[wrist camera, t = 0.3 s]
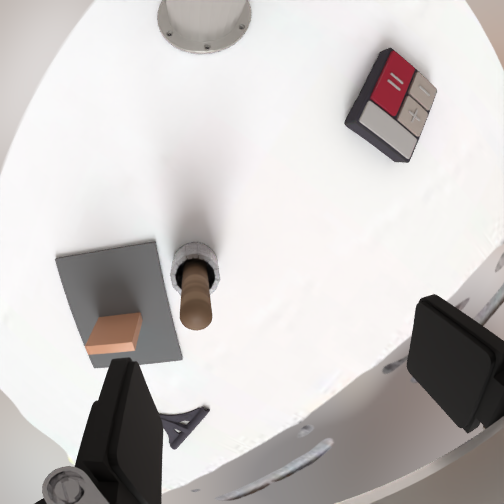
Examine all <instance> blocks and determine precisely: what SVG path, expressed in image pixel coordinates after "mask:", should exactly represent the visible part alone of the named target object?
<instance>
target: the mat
mask: <svg viewBox="0 0 504 504" xmlns="http://www.w3.org/2000/svg"><path fill="white" fill-rule="evenodd" d="M55 261H56V265H57V268H58V272H59V275H60V278H61V282H62V285H63V288H64V291H65V294H66V297H67V300H68V303H69V306H70V309H71V312H72V314H73V317H74V320H75V323H76V325H77V328H78V331H79V333H80V336H81V338H82V341H83V343H84V346H85V345H86V343H87V341H88V339H89V336H90V334H91V332H92V330H93V328H94V326H95V324H96V322H97V320H98V318H99V317H105V316H114V315H122V314H130V313H138V312H140V313H141V316H142V320H143V321H142V325H141V329H140V333H139V337H138V341H137V345H136V349H135V351H128V352H117V353H105V354H92V355H89V358H90V360H91V362H92V364H93V367H94V368H105V367H109V366H110V363H111V360H112V359H116V358H126V357H130V358H131V359H132V361H137V362H138V364H139V365H142V364H152V363H161V362H170V361H178V360H182V355H181V351H180V347H179V343H178V340H177V336H176V332H175V328H174V324H173V320H172V316H171V312H170V308H169V303H168V299H167V295H166V290H165V286H164V281H163V277H162V272H161V267H160V263H159V258H158V253H157V248H156V242H151V243H144V244H138V245H132V246H126V247H119V248H113V249H107V250H101V251H95V252H90V253H84V254H78V255H72V256H66V257H61V258H56V259H55Z"/></svg>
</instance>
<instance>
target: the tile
mask: <svg viewBox="0 0 504 504" xmlns="http://www.w3.org/2000/svg"><path fill="white" fill-rule="evenodd" d="M142 321H143V320H142V316H141V313H140V312H138V313H130V314H122V315H114V316H105V317H99V318H98V320H97V322H96V324H95V326H94V328H93V330H92V332H91V334H90V336H89V339H88V341H87V343H86V345H85V348H86V350H87V353H88V355H92V354H105V353H117V352H128V351H135V349H136V345H137V341H138V337H139V333H140V329H141V325H142Z"/></svg>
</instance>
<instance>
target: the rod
mask: <svg viewBox="0 0 504 504" xmlns="http://www.w3.org/2000/svg"><path fill="white" fill-rule="evenodd" d="M180 320H181V322H182V324H183V325H184V326H185V327H186V328H188V329H191V330H202V329H204V328H206V327H207V326H208V325H209V324H210V323H211V321H212V309H211V301H210V292H209V283H208V274H207V264H206V261H204V260H202V259H199V258H193V259H187V260H185V262H184V267H183V278H182V291H181V305H180Z"/></svg>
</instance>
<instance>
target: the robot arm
mask: <svg viewBox="0 0 504 504" xmlns="http://www.w3.org/2000/svg"><path fill="white" fill-rule="evenodd" d="M157 20H158V26H159V29H160V32H161V33H162V35H163V37H164V38H165V39H166V40H167V41H168V42H169V43H170V44H171V45H173V46H174V47H175V48H178V49H180V50H182V51H185V52H189V53H194V54H210V53H215V52H219V51H222V50H224V49H227V48H229V47H230V46H232V45H234V44H235V43H236V42H237V41H239V40H240V39H241V38H242V36H243V35H244V34H245V32H246V31H247V29H248V26H249V24H250V21H251V7H250V4H249V2H248V0H163V1H162V3H161V4H160V7H159V10H158V16H157ZM239 28H242V29H239ZM169 34H171V35H172V36H168V35H169ZM206 47H208V48H209V49H208V50H207V49H205V48H206ZM407 369H408V371H409V373H410V374H411V375H412V376H413V377H414V378H415V379H416V380H417V382H418V383H419V384H420V385H421V386H422V387H423V388H424V389H425V390H426V391H427V392H428V394H429V395H430V396H431V397H432V398H433V399H434V400H435V401H436V402H437V403H438V405H439V406H440V407H441V408H442V409H443V410H444V411H445V412H446V414H447V415H448V416H449V417H450V418H451V419H452V420H453V421H454V423H455V424H456V425H457V426H458V427H460V428H463V429H464V430H465V431H466V432H467V433H469V432H471V431H473V430H474V429H475V428H477V427H478V426H479V424H480V422H481V423H482V424H483V431H482V432H481V433H479V434H478V435H476V436H475V437H473V438H472V439H471V440H469V441H467V442H465V443H464V444H462V445H461V446H459V447H458V448H456V449H454V450H452V451H451V452H449V453H447V454H445V455H444V456H442V457H440V458H438V459H437V460H435V461H433V462H431V463H429V464H427V465H425V466H424V467H422V468H420V469H418V470H416V471H414V472H412V473H410V474H408V475H405V476H403V477H401V478H399V479H397V480H395V481H392V482H390V483H388V484H386V485H383V486H381V487H379V488H376V489H374V490H371V491H368V492H366V493H363V494H361V495H358V496H355V497H353V498H350V499H347V500H344V501H341V502H338V503H335V504H504V341H503V340H501V339H500V338H499V337H497V336H496V335H495V334H493V333H492V332H490V331H489V330H488V329H486V328H485V327H483V326H482V325H480V324H479V323H478V322H476V321H475V320H473V319H472V318H470V317H469V316H467V315H466V314H464V313H463V312H461V311H460V310H459V309H457V308H456V307H454V306H453V305H451V304H450V303H448V302H447V301H445V300H444V299H442V298H440V297H439V296H437V295H435V294H434V295H430V296H427V297H424V298H421V299H420V301H419V303H418V304H417V306H416V310H415V318H414V325H413V331H412V337H411V344H410V350H409V355H408V360H407ZM162 448H163V424H162V420H161V418H160V415H159V413H158V411H157V409H156V406H155V404H154V401H153V399H152V397H151V394H150V392H149V389H148V387H147V384H146V382H145V379H144V377H143V374H142V371H141V369H140V366H139V364H138V362H137V361H132V359H131V358H130V357H126V358H116V359H112V360H111V363H110V366H109V369H108V372H107V375H106V378H105V381H104V384H103V387H102V390H101V393H100V396H99V400H98V401H95V402H94V403H93V405H92V408H91V411H90V414H89V417H88V421H87V424H86V427H85V431H84V434H83V438H82V441H81V445H80V449H79V452H78V456H77V460H76V464H75V467H71V466H67V467H61V468H58V469H55V470H54V471H53V472H51V473H50V474H49V475H48V476H47V477H46V479H45V481H44V483H43V486H42V493H43V496H44V498H43V499H41V500H40V501H38V502H36V503H35V504H161V485H162Z"/></svg>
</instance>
